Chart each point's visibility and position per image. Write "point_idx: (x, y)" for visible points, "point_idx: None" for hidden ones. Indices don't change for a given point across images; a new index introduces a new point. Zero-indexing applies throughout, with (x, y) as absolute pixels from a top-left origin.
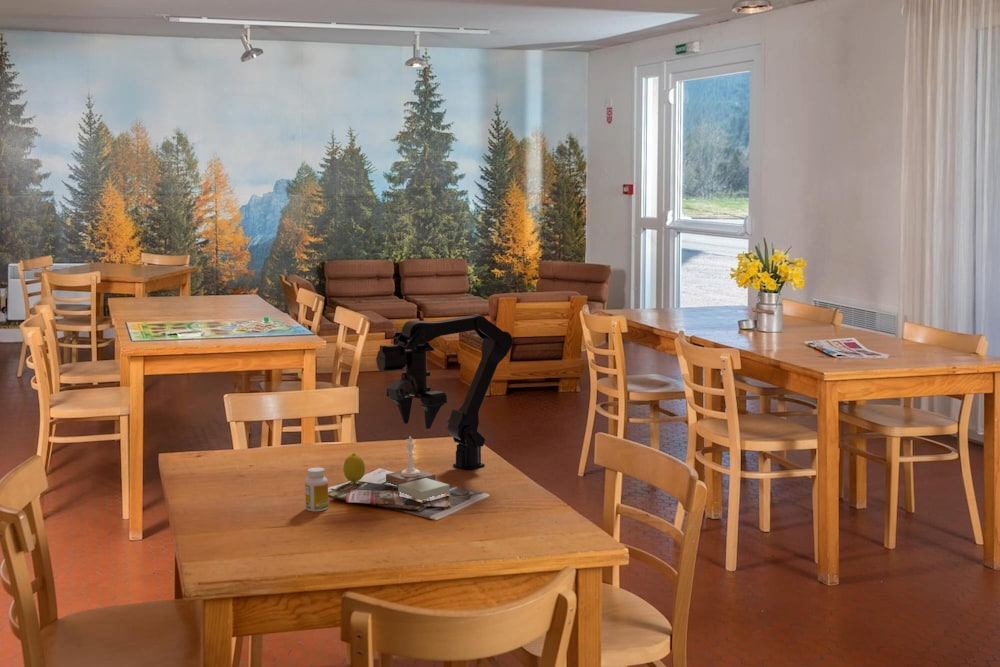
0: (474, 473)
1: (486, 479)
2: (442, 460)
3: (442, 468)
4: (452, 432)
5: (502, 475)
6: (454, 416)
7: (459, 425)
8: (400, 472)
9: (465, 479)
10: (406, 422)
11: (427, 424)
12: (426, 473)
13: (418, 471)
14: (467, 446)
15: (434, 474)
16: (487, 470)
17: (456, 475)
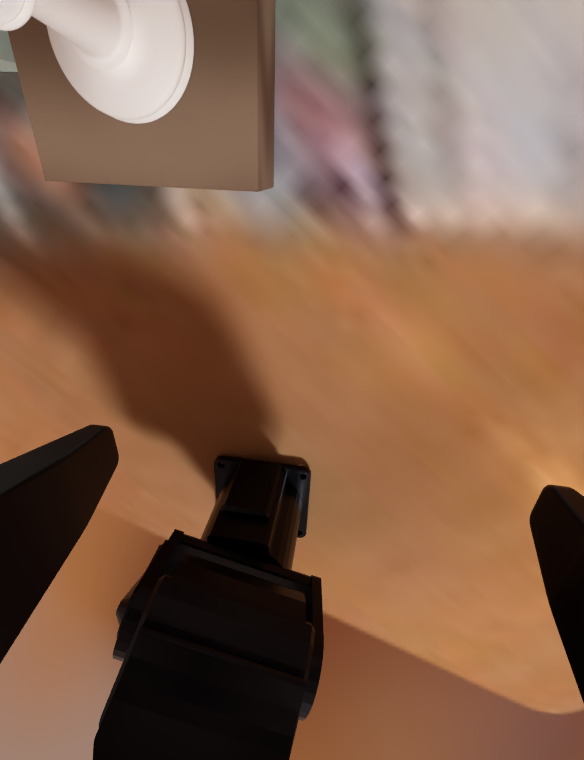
0: (168, 437)
1: (70, 402)
2: (412, 507)
3: (319, 424)
4: (246, 598)
5: None
6: (226, 740)
7: (135, 641)
8: (220, 12)
9: (113, 356)
10: (540, 512)
11: (30, 454)
12: (90, 153)
13: (68, 72)
14: (175, 534)
15: (45, 174)
16: (174, 486)
17: (188, 379)
